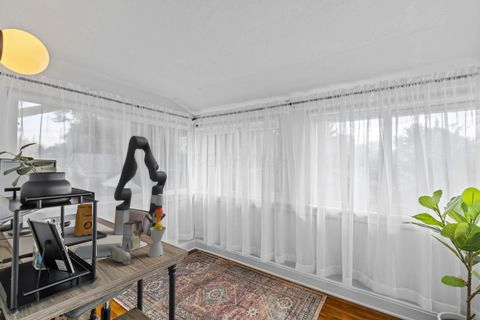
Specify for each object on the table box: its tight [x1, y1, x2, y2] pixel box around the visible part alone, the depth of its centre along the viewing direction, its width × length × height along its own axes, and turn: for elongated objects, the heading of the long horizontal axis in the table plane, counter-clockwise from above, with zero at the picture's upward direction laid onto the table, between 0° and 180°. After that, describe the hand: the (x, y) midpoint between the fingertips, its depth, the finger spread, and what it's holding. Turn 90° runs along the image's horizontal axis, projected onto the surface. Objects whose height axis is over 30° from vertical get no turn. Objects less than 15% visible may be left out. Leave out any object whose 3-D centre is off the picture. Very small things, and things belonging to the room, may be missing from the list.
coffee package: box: [73, 203, 93, 237], centre depth 151 cm, size 10×12×22 cm
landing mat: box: [74, 242, 122, 260], centre depth 124 cm, size 20×22×1 cm
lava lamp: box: [147, 193, 167, 258], centre depth 126 cm, size 9×9×35 cm
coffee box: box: [121, 219, 143, 252], centre depth 132 cm, size 9×6×16 cm
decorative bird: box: [106, 243, 132, 266], centre depth 114 cm, size 5×16×8 cm, turn 64°
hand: (154, 228), depth 138 cm, fingers closed
